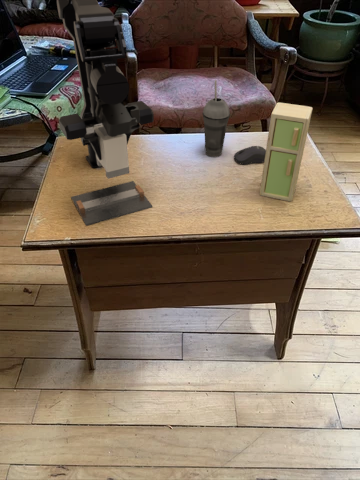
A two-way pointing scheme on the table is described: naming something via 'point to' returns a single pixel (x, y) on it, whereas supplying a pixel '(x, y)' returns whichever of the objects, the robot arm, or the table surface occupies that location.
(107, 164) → the rail module
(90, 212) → the rail
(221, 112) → the beverage cup
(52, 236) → the table surface
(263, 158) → the computer mouse
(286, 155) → the toy refrigerator
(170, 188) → the table surface
